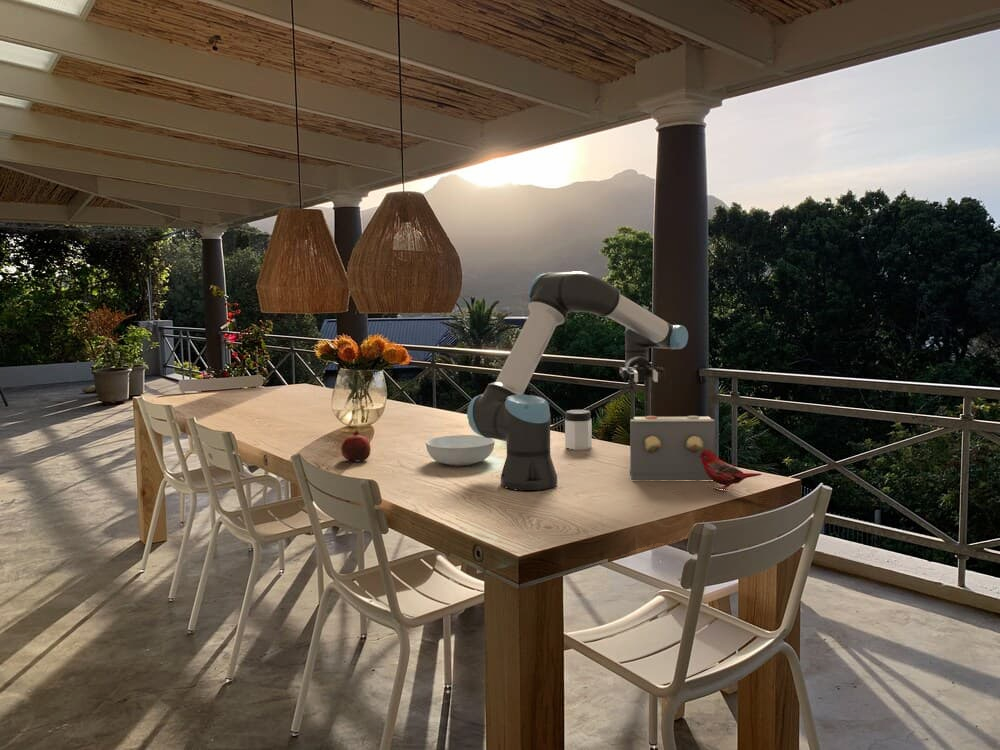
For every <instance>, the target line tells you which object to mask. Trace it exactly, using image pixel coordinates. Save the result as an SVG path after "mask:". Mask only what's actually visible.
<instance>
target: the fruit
mask: <svg viewBox="0 0 1000 750" xmlns="http://www.w3.org/2000/svg"><path fill="white" fill-rule="evenodd" d="M340 449H341V455H342V456H343V458H344V459H345V460H348V461H352V462H355V461H360V462H363V461H365V460H367V459H368V458H369V457H370V455H371V443H370V441H369V439H368V438H367V437H365V436H363V435H360V432H359V431H358V429H357V428H356V429H355V430H353V433H352V434H351V435H349V436H347V437H346V438H345V439H344V440H343V442H342V444H341V447H340Z"/></svg>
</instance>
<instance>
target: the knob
mask: <svg viewBox="0 0 1000 750" xmlns="http://www.w3.org/2000/svg"><path fill="white" fill-rule="evenodd" d="M685 445H686V447H687V449H688V450H689V451H690V452H693V453H696V452H699V451H700V450H701V449H702V448H703V441H702V439H701V438H700V437H698V436H696V435H691V436H689V437H687V439H686V442H685Z"/></svg>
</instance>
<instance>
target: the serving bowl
mask: <svg viewBox="0 0 1000 750" xmlns="http://www.w3.org/2000/svg"><path fill="white" fill-rule="evenodd" d="M495 440H496V439H493V438H485V437H484V436H481V435H478V434H476V435H475V434H474V435H473V434H455V435H442V436H436V437H433V438H430V439H428V440H426V441H425V447H426V451H427V453H428V455H429V456H430V458H432V459H433V460H434V461H437V462H438V463H441V464H445V465H448V464H449V465H448V466H452V465H466V466H470V465H469V464H471V465H474V464H476V463H479V462H480V463H481V462H482V461H485V460H486V459H487V458H489V456H491V454H492V453H493V451H494V448H495ZM473 463H474V464H473Z"/></svg>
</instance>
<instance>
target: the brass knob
mask: <svg viewBox="0 0 1000 750" xmlns="http://www.w3.org/2000/svg"><path fill="white" fill-rule="evenodd" d="M644 447H645V449H646V450H647V451H648V452H651V453H654V452H657V451H658V450H659V449H660V447H661V442H660V440H659V438H658V437H656V436H654V435H650V436H647V437H646V438H645V440H644Z"/></svg>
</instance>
